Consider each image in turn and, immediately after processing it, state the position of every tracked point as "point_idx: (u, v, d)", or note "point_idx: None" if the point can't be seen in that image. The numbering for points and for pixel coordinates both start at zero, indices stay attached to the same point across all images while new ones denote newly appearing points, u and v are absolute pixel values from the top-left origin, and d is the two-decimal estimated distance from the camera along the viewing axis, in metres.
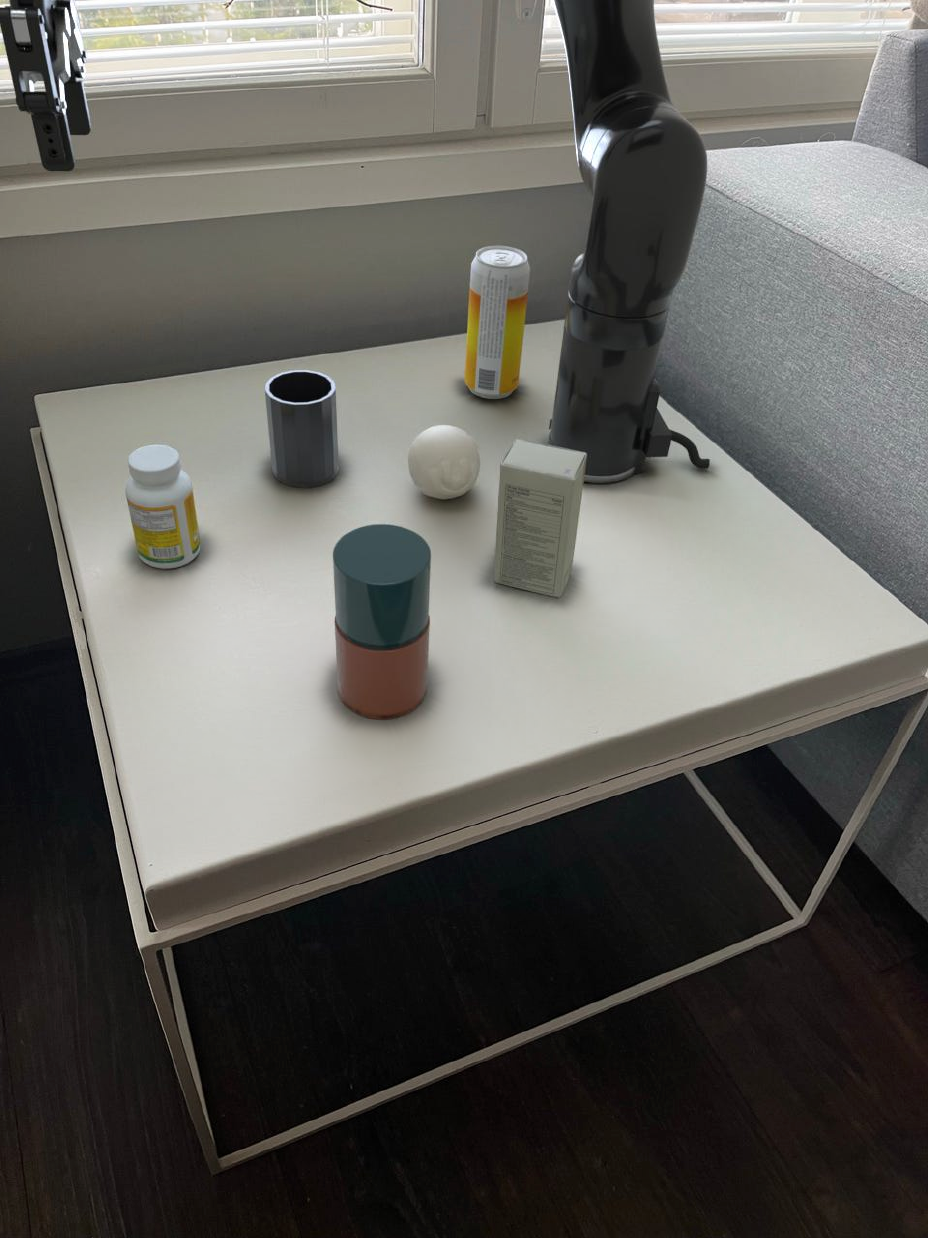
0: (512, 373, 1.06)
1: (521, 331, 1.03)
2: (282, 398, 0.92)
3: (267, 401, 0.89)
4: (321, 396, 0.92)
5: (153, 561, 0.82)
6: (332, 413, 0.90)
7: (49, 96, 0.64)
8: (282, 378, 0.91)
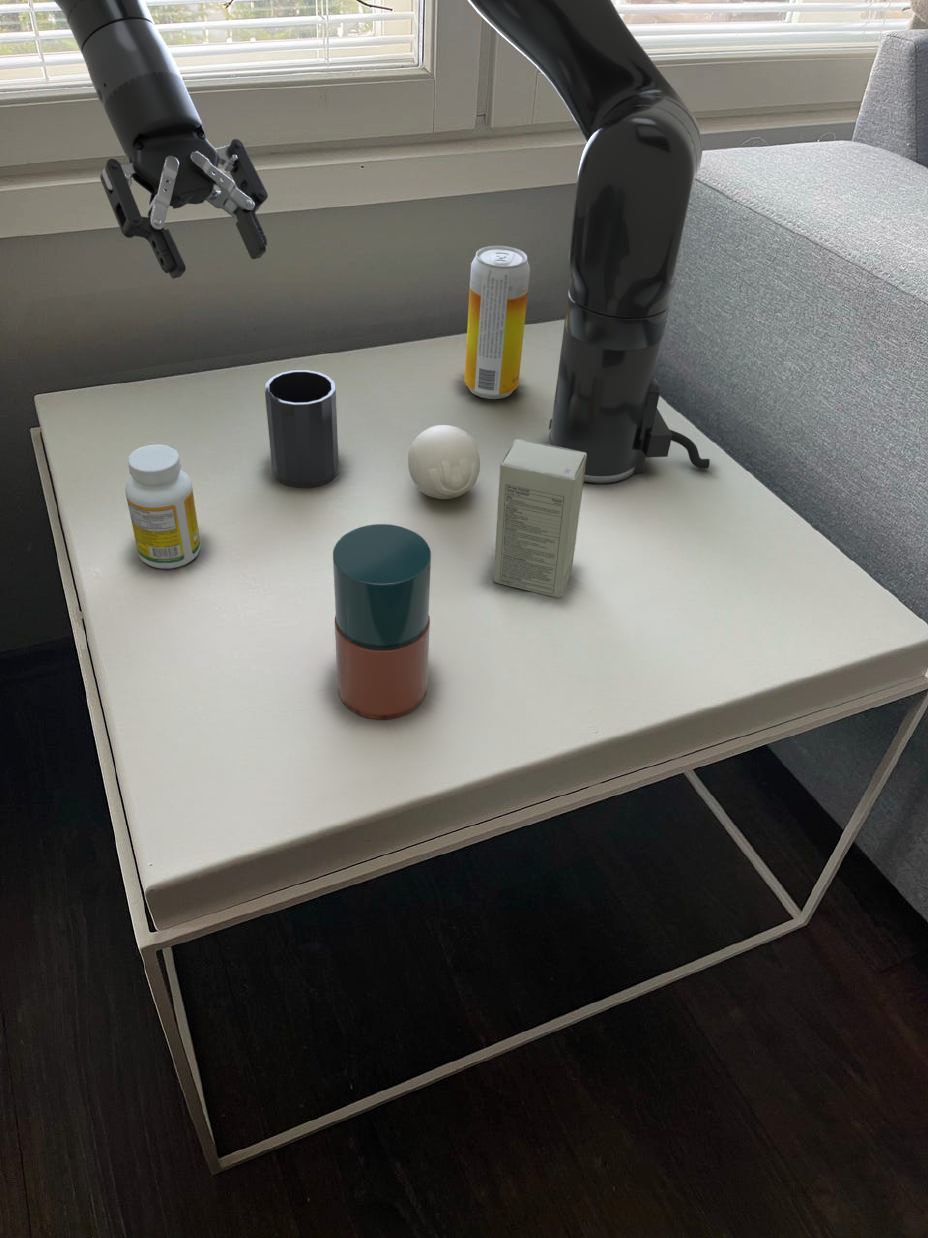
0: (512, 373, 1.06)
1: (521, 331, 1.03)
2: (282, 398, 0.92)
3: (267, 401, 0.89)
4: (321, 396, 0.92)
5: (153, 561, 0.82)
6: (332, 413, 0.90)
7: (126, 216, 0.84)
8: (282, 378, 0.91)
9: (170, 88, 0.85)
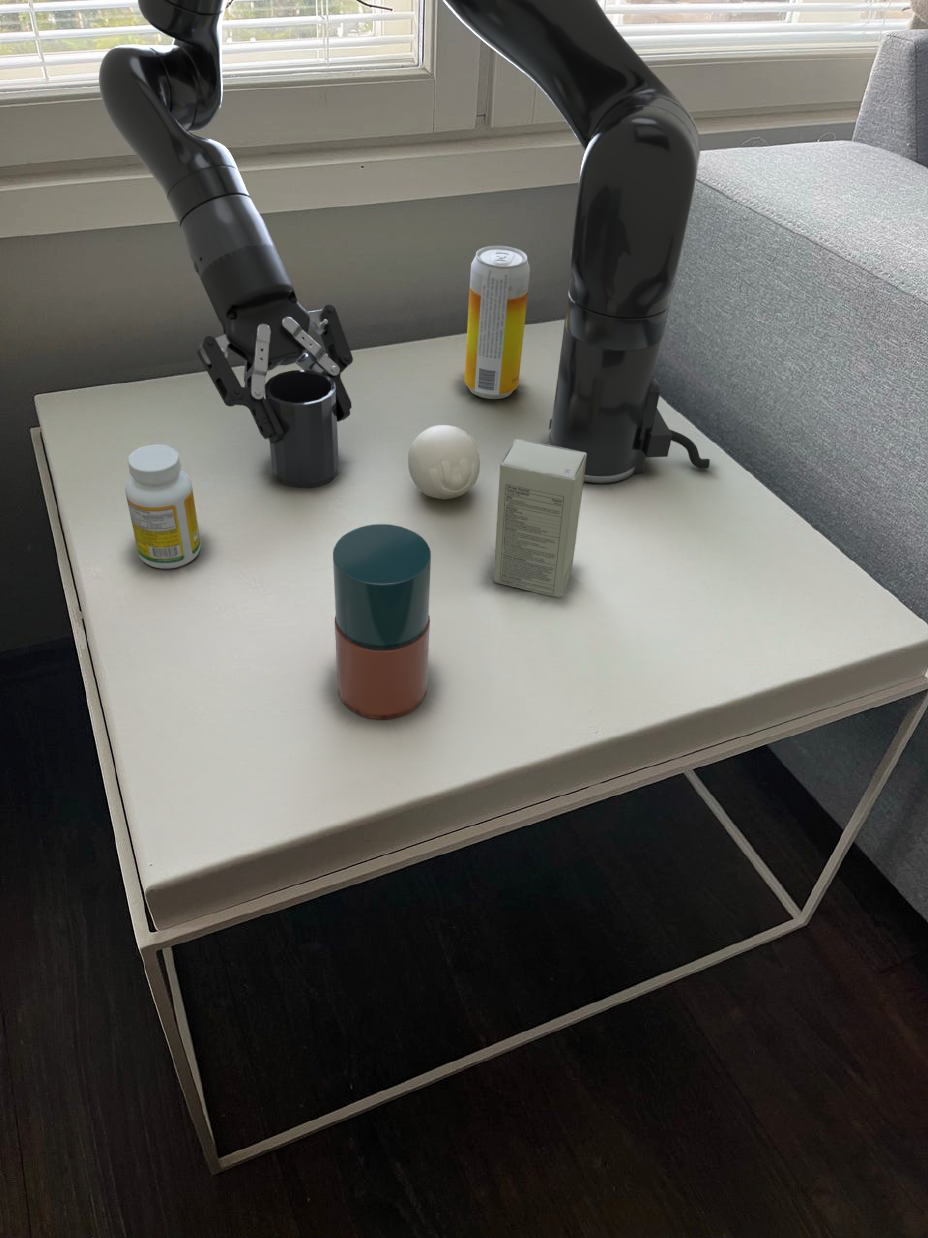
0: (512, 373, 1.06)
1: (521, 331, 1.03)
2: (282, 398, 0.92)
3: None
4: (321, 396, 0.92)
5: (153, 561, 0.82)
6: (332, 413, 0.90)
7: (228, 389, 0.86)
8: (282, 378, 0.91)
9: (263, 260, 0.87)
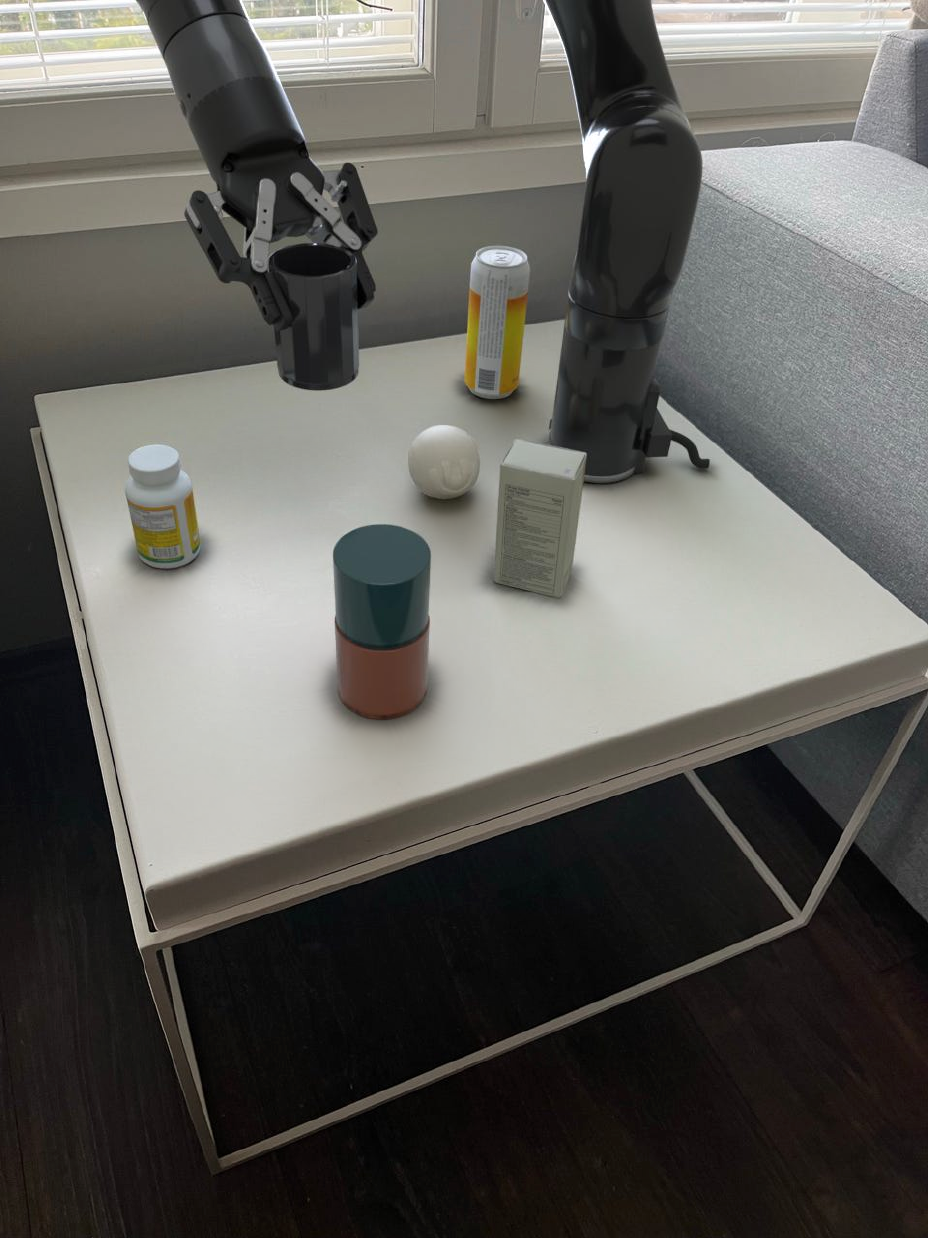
0: (512, 373, 1.06)
1: (521, 331, 1.03)
2: None
3: None
4: None
5: (153, 561, 0.82)
6: (352, 294, 0.72)
7: (222, 257, 0.69)
8: (290, 252, 0.73)
9: (267, 96, 0.69)
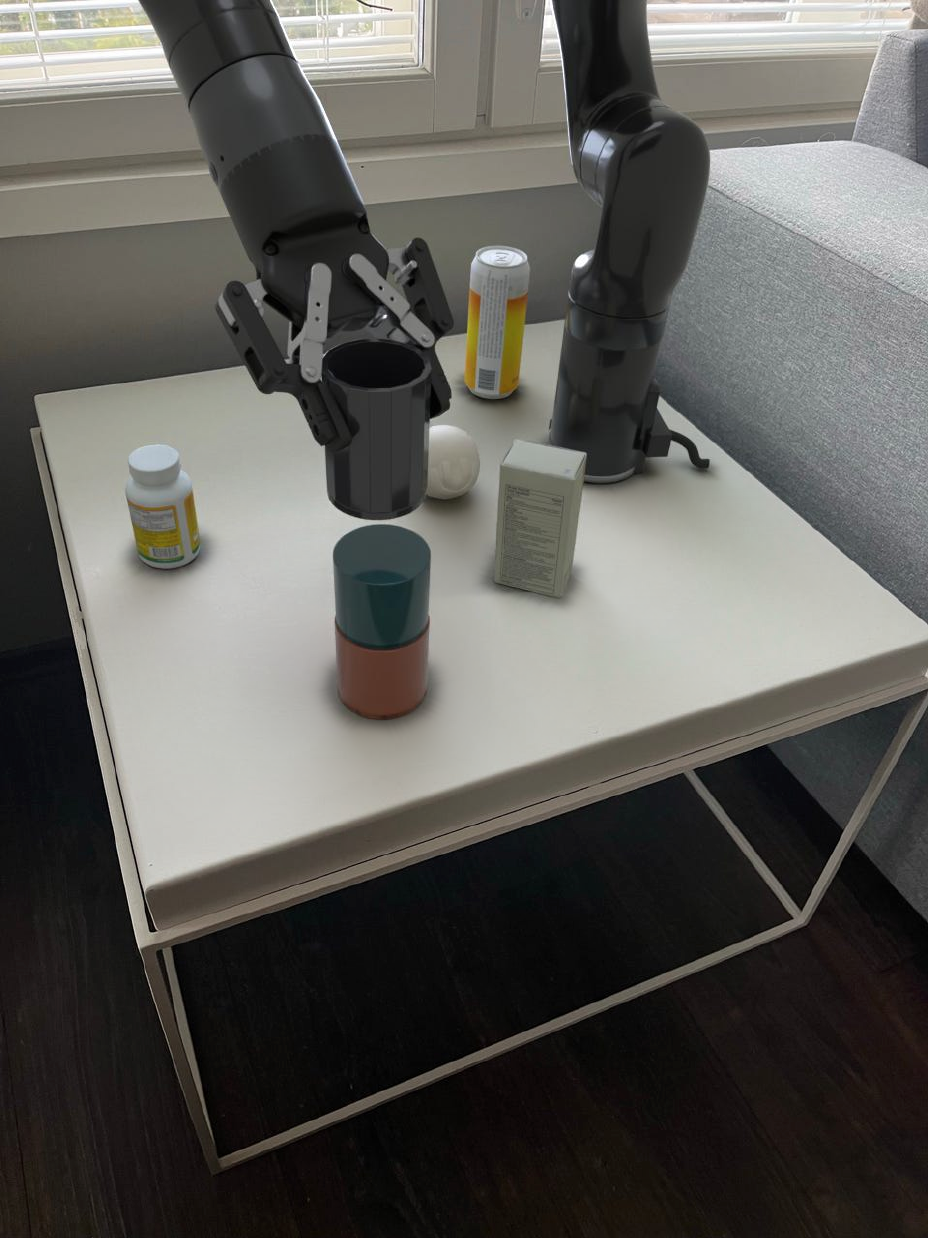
0: (512, 373, 1.06)
1: (521, 331, 1.03)
2: (345, 382, 0.60)
3: None
4: (404, 380, 0.60)
5: (153, 561, 0.82)
6: (425, 406, 0.57)
7: (264, 366, 0.54)
8: (346, 351, 0.58)
9: (322, 160, 0.54)
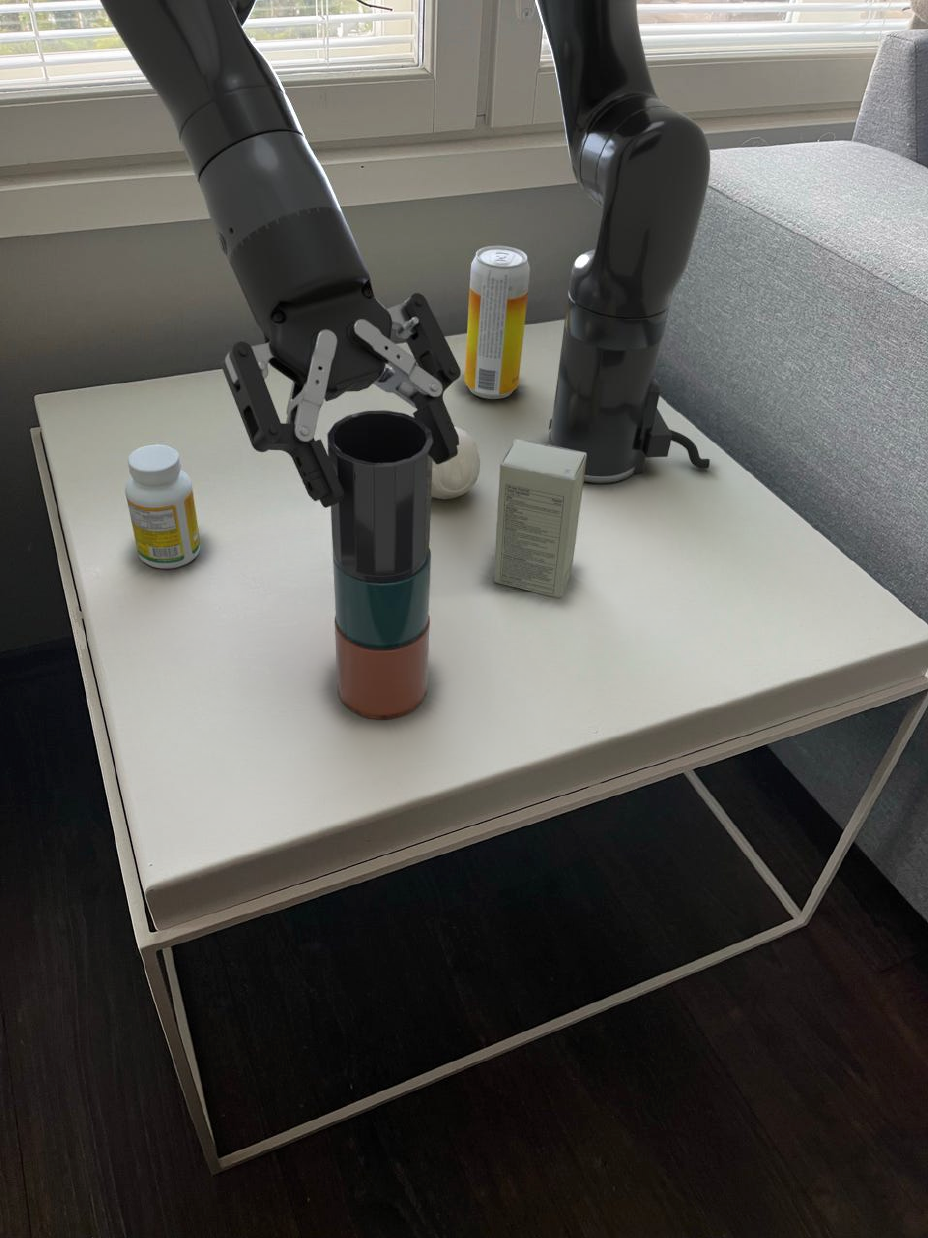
0: (512, 373, 1.06)
1: (521, 331, 1.03)
2: (350, 452, 0.62)
3: (331, 459, 0.59)
4: (407, 448, 0.63)
5: (153, 561, 0.82)
6: (427, 476, 0.60)
7: (259, 427, 0.56)
8: (351, 423, 0.61)
9: (327, 231, 0.56)
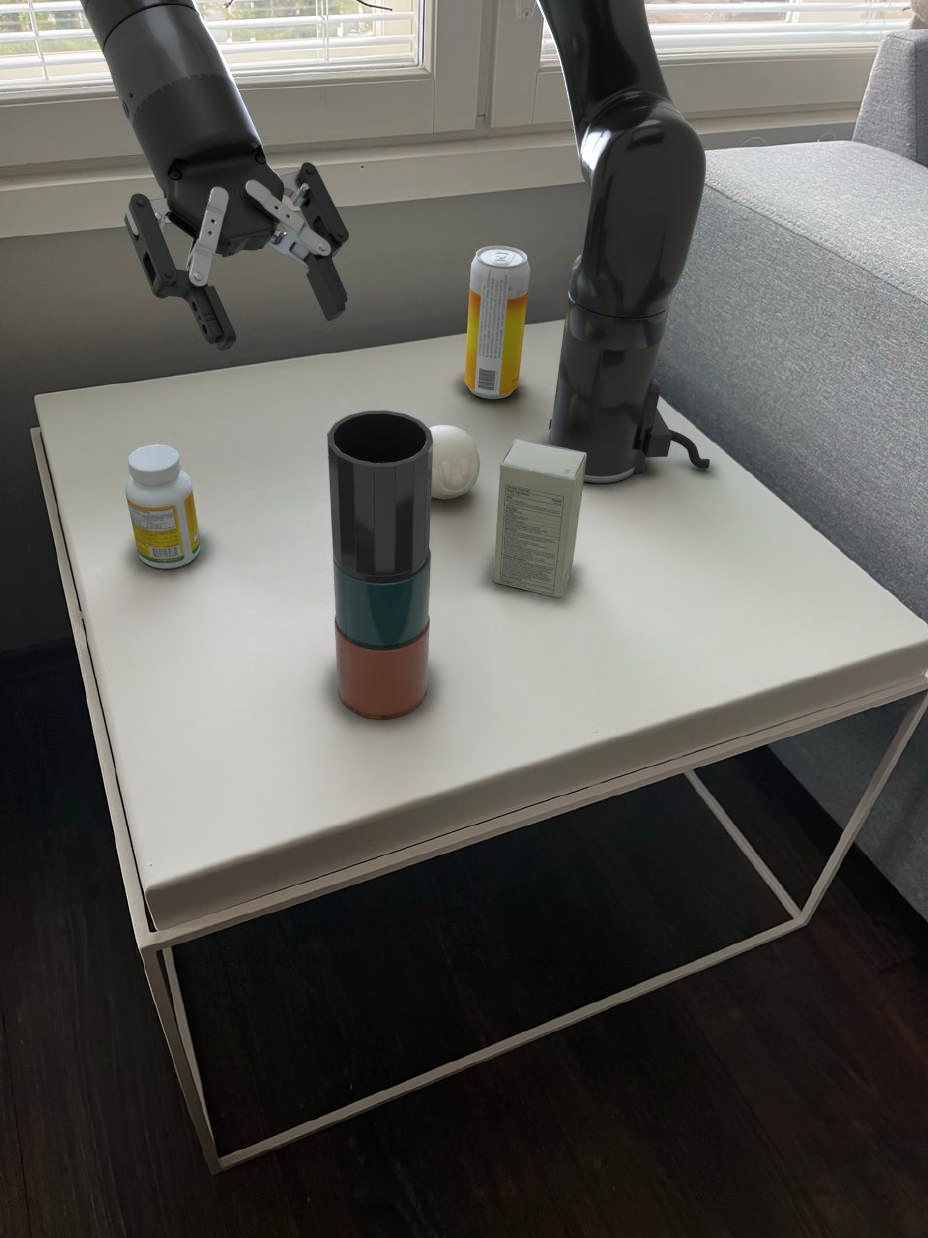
0: (512, 373, 1.06)
1: (521, 331, 1.03)
2: (350, 452, 0.62)
3: (331, 459, 0.59)
4: (407, 448, 0.63)
5: (153, 561, 0.82)
6: (427, 476, 0.60)
7: (155, 270, 0.62)
8: (351, 423, 0.61)
9: (217, 96, 0.62)
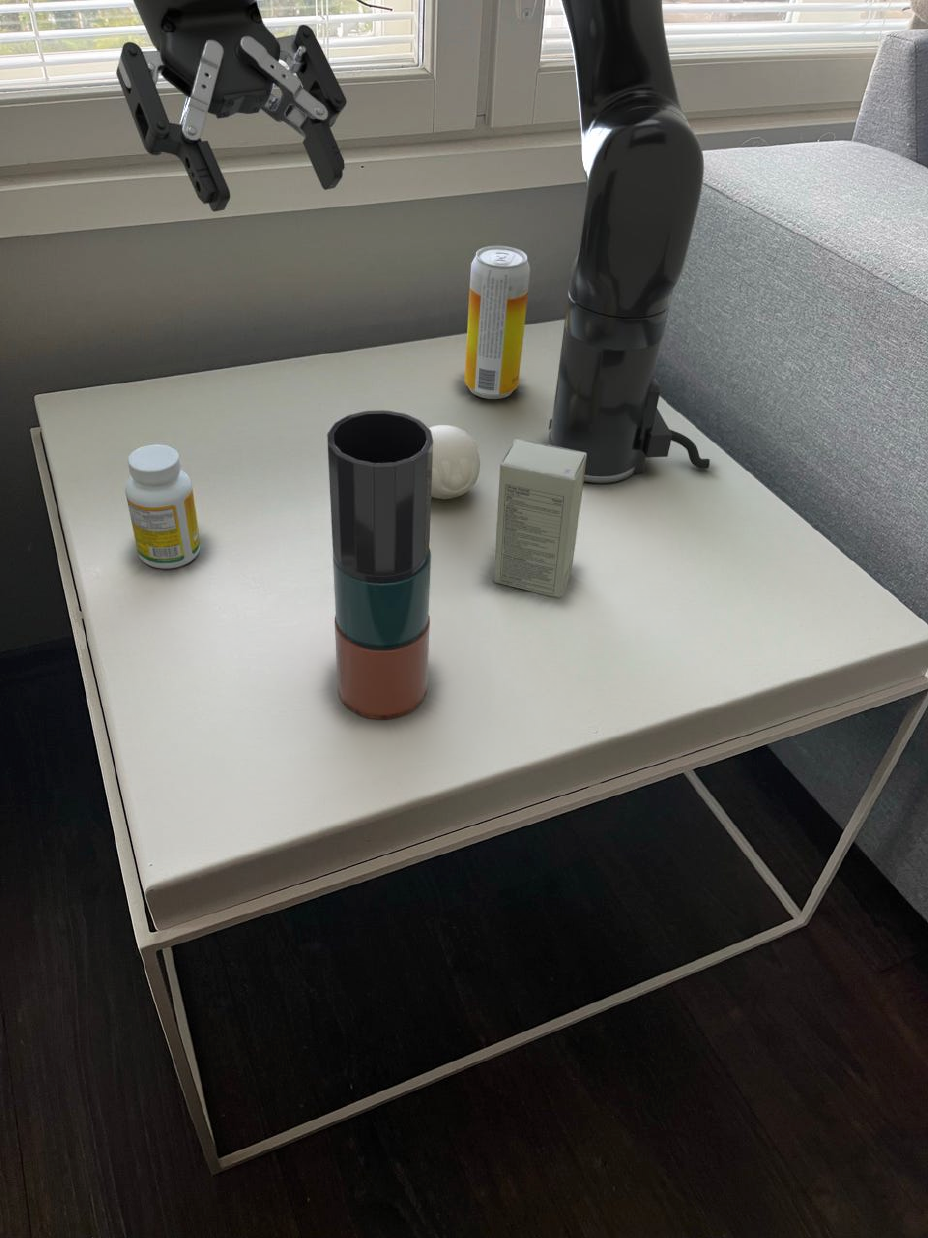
0: (512, 373, 1.06)
1: (521, 331, 1.03)
2: (350, 452, 0.62)
3: (331, 459, 0.59)
4: (407, 448, 0.63)
5: (153, 561, 0.82)
6: (427, 476, 0.60)
7: (148, 121, 0.60)
8: (351, 423, 0.61)
9: None
